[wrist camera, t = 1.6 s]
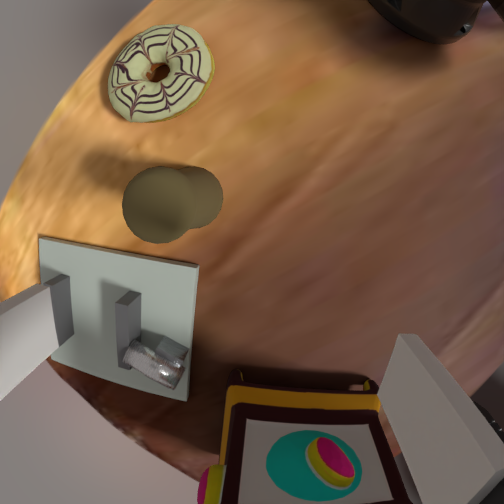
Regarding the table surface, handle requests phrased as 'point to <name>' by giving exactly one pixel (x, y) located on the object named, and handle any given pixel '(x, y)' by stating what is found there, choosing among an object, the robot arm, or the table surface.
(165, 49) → the decorated donut
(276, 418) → the decorative lantern
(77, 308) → the rig
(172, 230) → the cork
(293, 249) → the table surface
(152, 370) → the shaft
